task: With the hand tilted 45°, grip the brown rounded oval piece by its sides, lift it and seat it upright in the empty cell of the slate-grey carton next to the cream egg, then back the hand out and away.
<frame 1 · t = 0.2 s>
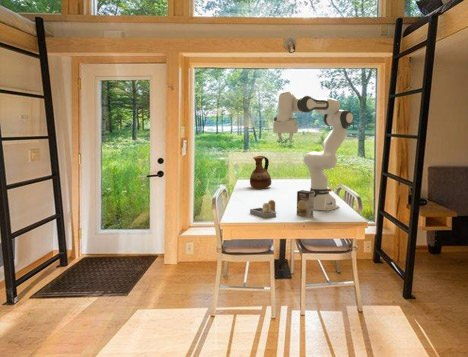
hand: (285, 140, 229), 48 cm above the table, tool pointing down, fingers open, 8 cm apart
coffee box: (304, 216, 229), on the table
cream egg: (266, 216, 227), point 1 cm above the table, touching egg carton
egg carton: (262, 216, 230), on the table
brown rounded oval piece: (271, 212, 240), on the table
ceramic pitcher: (260, 188, 337), on the table
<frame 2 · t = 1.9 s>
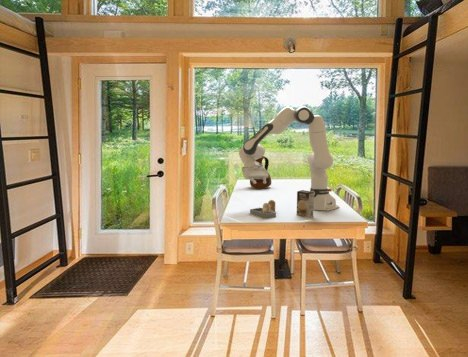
hand: (260, 183, 245), 18 cm above the table, tool tilted 45°, fingers open, 8 cm apart
nothing on the table moved.
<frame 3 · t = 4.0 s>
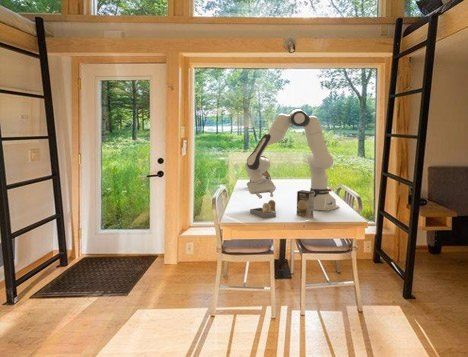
hand: (266, 197, 244), 9 cm above the table, tool tilted 45°, fingers open, 8 cm apart
nothing on the table moved.
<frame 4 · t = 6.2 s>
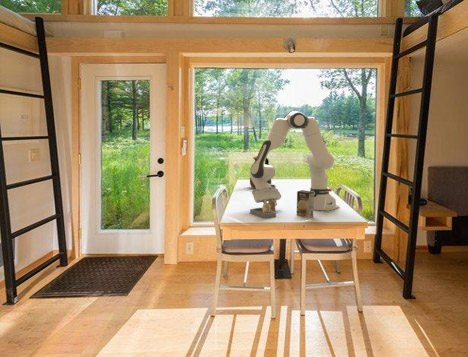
hand: (272, 205, 239), 5 cm above the table, tool tilted 45°, fingers closed on brown rounded oval piece, 5 cm apart
brown rounded oval piece: (271, 212, 240), on the table, touching gripper
everything else where it was.
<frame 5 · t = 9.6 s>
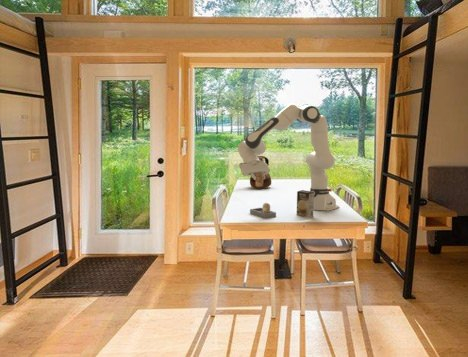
hand: (260, 179, 230), 23 cm above the table, tool tilted 45°, fingers closed on brown rounded oval piece, 5 cm apart
brown rounded oval piece: (259, 186, 231), point 19 cm above the table, touching gripper
everything else where it was.
when the fingers open (7 cm above the table, at t = 13.1 s): brown rounded oval piece drops 1 cm, resting on egg carton.
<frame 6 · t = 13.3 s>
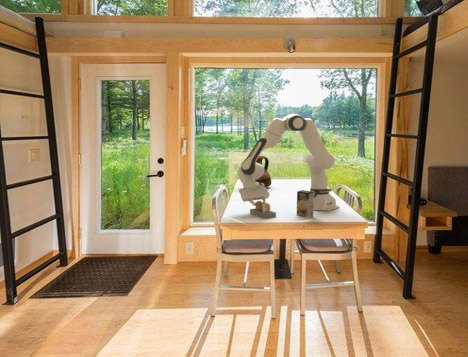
hand: (259, 204, 232), 7 cm above the table, tool tilted 45°, fingers open, 6 cm apart
brown rounded oval piece: (259, 213, 233), point 1 cm above the table, touching egg carton
everything else where it was.
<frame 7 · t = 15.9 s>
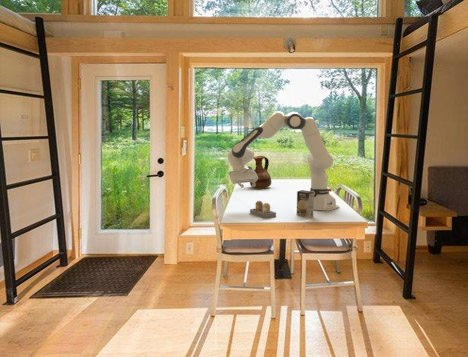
hand: (248, 186, 241), 17 cm above the table, tool tilted 45°, fingers open, 8 cm apart
nothing on the table moved.
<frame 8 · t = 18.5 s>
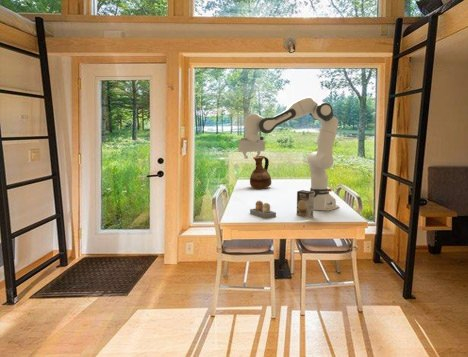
hand: (251, 158, 246), 35 cm above the table, tool pointing down, fingers open, 8 cm apart
nothing on the table moved.
at the end: brown rounded oval piece 0.1 cm from the target spot on the egg carton, point 0.9 cm above the egg carton's base; brown rounded oval piece tilted 2°; the gripper is holding nothing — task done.
